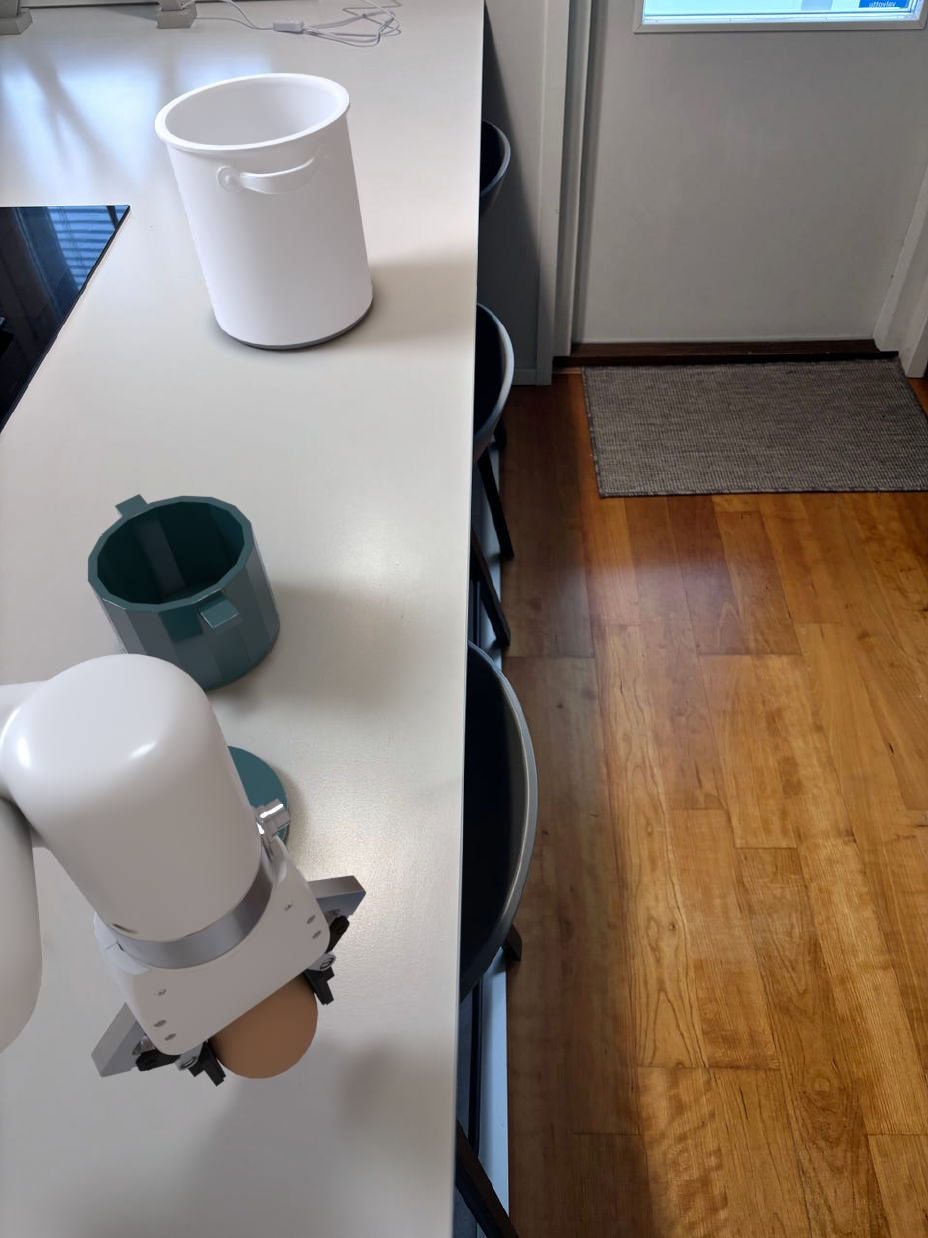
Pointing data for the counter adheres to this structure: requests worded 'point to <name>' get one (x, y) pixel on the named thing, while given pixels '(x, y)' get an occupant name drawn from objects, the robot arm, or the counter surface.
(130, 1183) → the counter surface
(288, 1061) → the egg
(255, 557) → the saucepan
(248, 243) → the bucket
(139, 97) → the counter surface
